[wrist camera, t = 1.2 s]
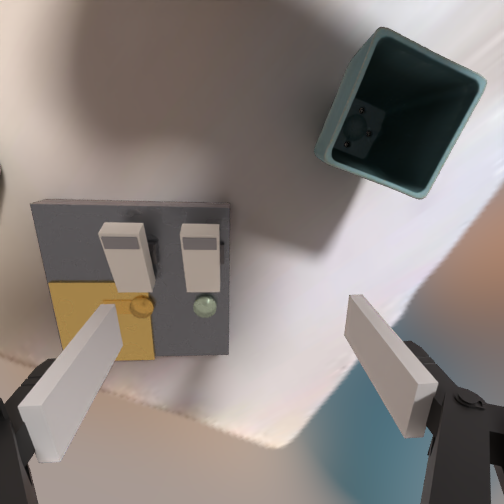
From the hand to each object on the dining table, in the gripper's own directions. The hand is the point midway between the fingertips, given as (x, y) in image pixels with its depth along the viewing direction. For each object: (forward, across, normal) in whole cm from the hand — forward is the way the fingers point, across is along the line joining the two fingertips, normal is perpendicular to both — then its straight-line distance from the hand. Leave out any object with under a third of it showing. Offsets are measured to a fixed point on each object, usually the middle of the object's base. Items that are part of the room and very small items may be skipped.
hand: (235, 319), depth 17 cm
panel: (+16, -10, -4) cm, 19 cm away
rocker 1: (+11, -9, 0) cm, 15 cm away
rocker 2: (+11, -3, -1) cm, 12 cm away
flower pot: (+16, +12, +11) cm, 23 cm away
